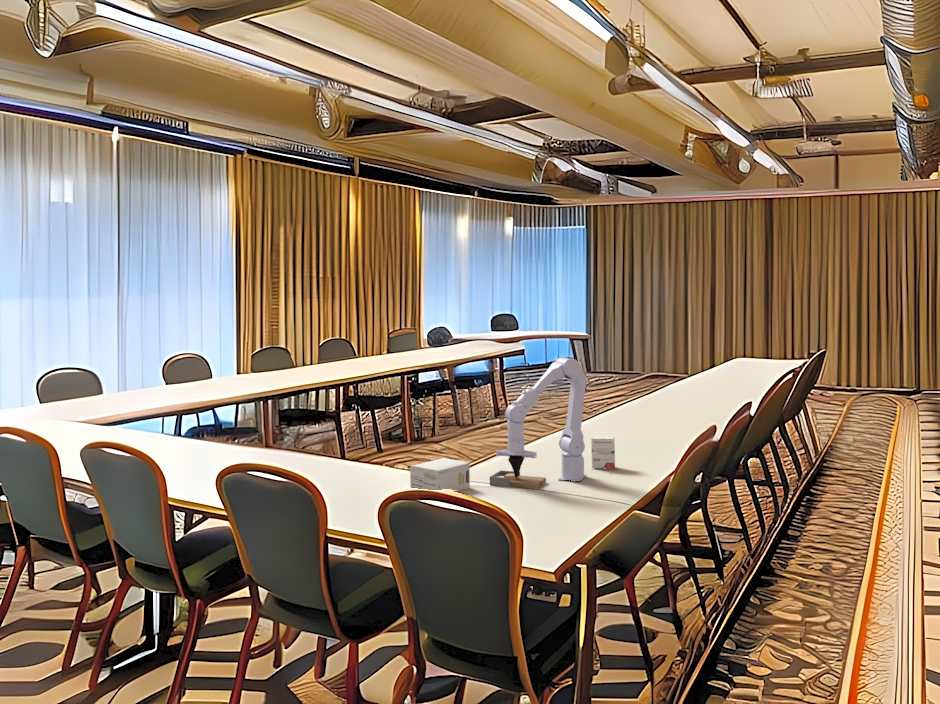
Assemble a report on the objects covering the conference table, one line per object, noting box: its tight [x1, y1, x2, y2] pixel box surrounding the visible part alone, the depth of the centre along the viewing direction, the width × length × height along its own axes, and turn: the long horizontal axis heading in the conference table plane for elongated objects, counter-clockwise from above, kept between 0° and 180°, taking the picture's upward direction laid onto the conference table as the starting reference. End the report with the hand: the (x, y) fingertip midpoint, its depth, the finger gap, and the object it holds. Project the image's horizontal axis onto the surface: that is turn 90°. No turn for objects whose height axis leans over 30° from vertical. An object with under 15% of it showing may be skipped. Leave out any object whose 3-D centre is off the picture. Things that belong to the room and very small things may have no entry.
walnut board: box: [509, 475, 547, 490], centre depth 301 cm, size 10×10×2 cm
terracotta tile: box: [504, 473, 519, 480], centre depth 303 cm, size 4×4×2 cm
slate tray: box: [489, 470, 521, 488], centre depth 305 cm, size 10×8×3 cm
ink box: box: [590, 436, 616, 470], centre depth 325 cm, size 9×5×12 cm, turn 77°
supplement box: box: [409, 457, 471, 492], centre depth 296 cm, size 17×13×9 cm
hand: (516, 476), depth 302 cm, fingers closed, pressing on terracotta tile
